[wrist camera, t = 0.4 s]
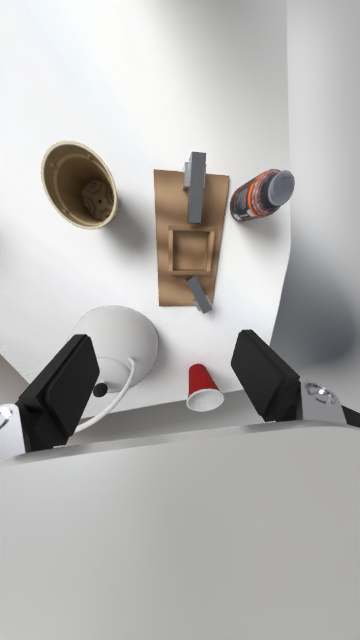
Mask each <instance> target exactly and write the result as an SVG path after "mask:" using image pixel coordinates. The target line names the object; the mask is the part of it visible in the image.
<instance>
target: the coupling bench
mask: <svg viewBox="0 0 360 640" xmlns="http://www.w3.org/2000/svg"><path fill="white" fill-rule="evenodd" d="M228 183H229V176H225V175H213V174H205V187H204V188H203V201H202V213H201V223H199V224H187V206H188V190H182V188H183V172H178V171H167V170H155V169H154V190H155V214H156V238H157V263H158V287H159V306H182V305H195V303H194V301H193V299H192V298H194V295H193V293H192V291H191V289H190V287H189V285H188V283H187V282H186V280H185V279H186V278H188V277H190V276H191V275H193V274H194V275H195V276H196V277H197V279H198V282H199V284H200V286H201V288H202V290H203V292H205V293H206V294H207V296H208V298H209V300H210V302H211V304H212V300H213V293H214V285H215V278H216V271H217V263H218V256H219V249H220V241H221V234H222V227H223V220H224V212H225V205H226V198H227V190H228Z"/></svg>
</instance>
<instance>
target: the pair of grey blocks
mask: <svg viewBox="0 0 360 640" xmlns="http://www.w3.org/2000/svg"><path fill="white" fill-rule="evenodd" d="M205 162H206V153H200V152H192V153H191V156H190V158H189V163H188V162H185V164H184V167H183V188H182V190H188V206H187V224H199V223H201V213H202V201H203V188H204V187H205V174H206V164H205ZM185 280H186V282H187V283H188V285H189V287H190V289H191V291H192V293H193V295H194V298H192V299H193V301H194V303H195V305H196V307H197V309H198V311H201V310H202V312H203V314H204V313H206V312H208V311H210V310H212V309H211V307H210V305H212V304H211V302H210V300H209V298H208V296H207V294H206V293H205V292H203V290H202V288H201V286H200V284H199V282H198V279H197V277H196V276H195V275H194V274H193V275H191V276H190V277H188V278H186V279H185Z"/></svg>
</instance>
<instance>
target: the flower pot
mask: <svg viewBox="0 0 360 640" xmlns="http://www.w3.org/2000/svg"><path fill="white" fill-rule="evenodd" d="M41 179H42V183H43V187H44V190H45V192H46V195H47V197H48V199H49V201H50V202H51V204H52V205H53V207H54V208H55V209H56V211H57V212H58V213H59V214H60V215H61V216H62V217H63V218H65V219H66V220H67V221H68V222H70V223H72V224H73V225H75V226H77V227H80V228H83V229H98V228H101V227H103V226H105V225H106V224H108V223H109V222H110V220H112V219H113V218H114V217H115V216H116V214H117V211H118V201H117V192H116V187H115V183H114V180H113V177H112V175H111V173H110V171H109V169H108V168H107V166H106V165H105V163H104V162H103V161H102V159H101V158H100V157H99V156H98V155H97V154H96V153H95V152H94V151H93V150H91V149H90V148H88V147H86V146H85V145H83V144H81V143H78V142H75V141H62V142H58V143H56V144H54V145H52V146H51V147H50V148H49V149H48V150H47V152H46V153H45V155H44V158H43V160H42V164H41ZM95 183H96V184H97V186H96V187H93V188H90V186H91V185H93V184H95ZM111 193H112V194H113V197H114V201H112V199H111V196H110V194H111ZM99 200H101V203H99ZM86 203H88V205H89V207H90V209H91V211H90V210H89V209H88V207H87V205H86ZM107 215H110V216H109V217H107V218H105V217H104V216H107Z"/></svg>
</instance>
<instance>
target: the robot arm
mask: <svg viewBox="0 0 360 640" xmlns="http://www.w3.org/2000/svg"><path fill="white" fill-rule="evenodd" d="M231 367H232V369H233V370H234V372H235V374H236V376H237V377H238V379H239V381H240V383H241V385H242V386H243V388H244V390H245V392H246V393H247V395H248V397H249V399H250V400H251V402H252V404H253V406H254V407H255V409H256V411H257V413H258V414H259V415H260V416H262V418H263V419H264V421H265V422H269V421H274V420H275V421H276V422H272V423H263V424H254V425H245V426H235V427H226V428H217V429H208V430H199V431H191V432H182V433H173V434H165V435H157V436H147V437H140V438H131V439H123V440H115V441H106V442H98V443H91V444H90V443H89V444H82V445H75V446H68V447H61V448H53V447H54V446H59V445H66V443H67V441H68V438H69V437H70V436H72V435H73V434H74V432H75V430H76V427H77V425H78V423H79V420H80V418H81V416H82V414H83V411H84V409H85V407H86V405H87V402H88V400H89V398H90V395H91V393H92V391H93V388H94V386H95V384H96V382H97V379H98V377H99V374H100V369H99V365H98V361H97V358H96V354H95V351H94V347H93V343H92V340H91V337H90V336H88V335H87V334H75V335H73V336H72V338H71V339H70V340H69V341H68V342H67V343H66V344H65V346H64V347H63V348H62V349H61V350H60V351H59V352H58V353H57V355H56V356H55V357H54V358H53V359H52V360H51V361H50V363H49V364H48V365H47V366H46V367H45V368H44V369H43V370H42V372H41V373H40V374H39V375H38V376H37V377H36V378H35V379H34V381H33V382H32V383H31V384H30V385H29V386H28V387H27V389H26V390H25V391H24V392H23V393H22V394H21V395H20V397H19V400H18V401H17V402H16V403H15V405H14V404H5V405H0V640H360V413H358V412H355V411H353V410H351V409H349V408H347V407H344V406H342V405H341V404H340V401H339V399H338V398H337V396H336V395H335V394H334V393H333V392H332V391H331V390H329V389H328V388H327V387H325V386H323V385H321V384H319V383H317V382H314V381H308V380H307V381H303V382H302V383H301V382H300V381H299V378H300V376H299V375H298V374H297V373H296V372H295V371H294V370H293V369H292V368H290V366H289V365H287V363H286V362H285V361H283V360H282V359H281V358H280V357H279V356H278V355H277V354H276V353H275V352H274V351H273V350H272V349H271V348H270V347H269V346H268V345H267V344H266V343H265V342H264V341H263V340H262V339H261V338H260V337H259V336H258V335H257V334H256V333H255V332H254V331H253V330H242V331H241V332H239V334H238V338H237V342H236V345H235V349H234V353H233V356H232V360H231Z"/></svg>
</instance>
